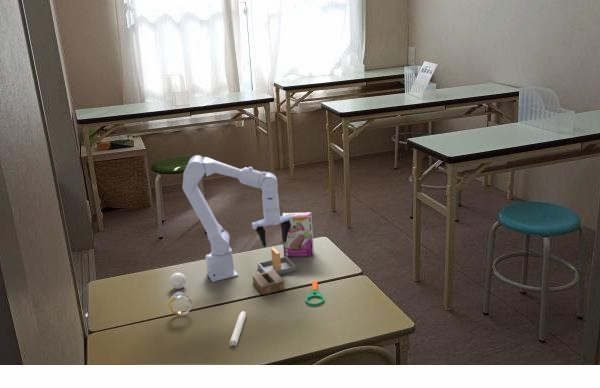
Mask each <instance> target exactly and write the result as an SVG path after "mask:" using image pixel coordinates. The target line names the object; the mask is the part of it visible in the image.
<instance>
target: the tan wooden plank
mask: <svg viewBox="0 0 600 388" xmlns="http://www.w3.org/2000/svg"><path fill="white" fill-rule="evenodd" d="M270 251H271V253H270V254H271V259H272V263H273V267H274V268H275V269H276V270H279V269H281V261H280V257H281V253H280V252H279V251H278V250H277V249H276V247H271V248H270Z"/></svg>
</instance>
